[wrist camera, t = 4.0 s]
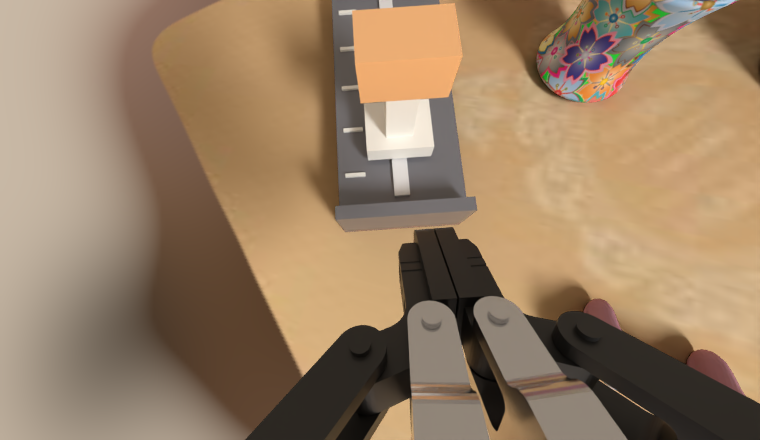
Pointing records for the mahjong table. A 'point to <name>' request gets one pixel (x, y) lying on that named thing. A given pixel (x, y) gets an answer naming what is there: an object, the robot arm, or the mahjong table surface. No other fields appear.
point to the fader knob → (404, 74)
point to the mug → (610, 43)
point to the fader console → (391, 176)
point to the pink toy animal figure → (697, 360)
